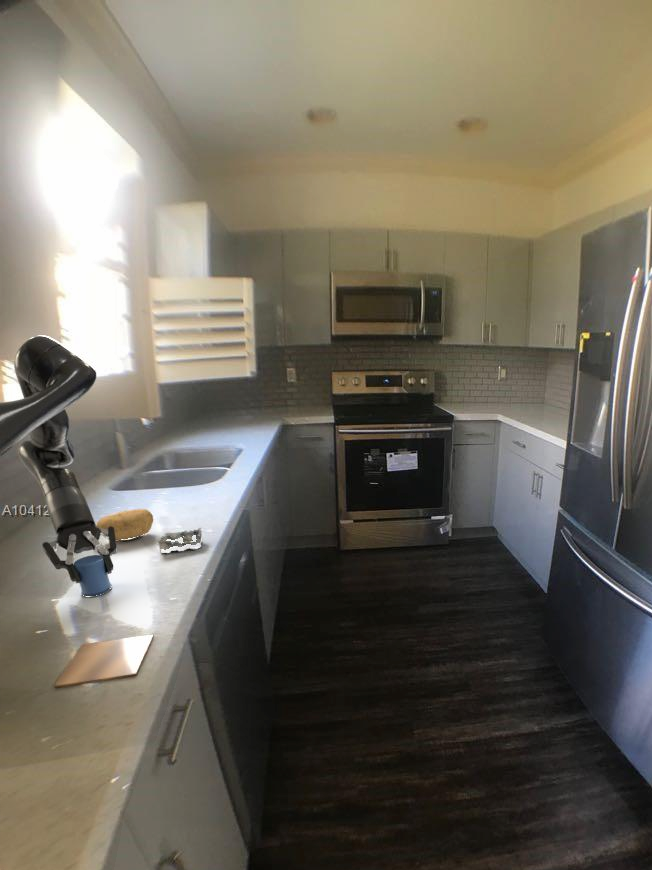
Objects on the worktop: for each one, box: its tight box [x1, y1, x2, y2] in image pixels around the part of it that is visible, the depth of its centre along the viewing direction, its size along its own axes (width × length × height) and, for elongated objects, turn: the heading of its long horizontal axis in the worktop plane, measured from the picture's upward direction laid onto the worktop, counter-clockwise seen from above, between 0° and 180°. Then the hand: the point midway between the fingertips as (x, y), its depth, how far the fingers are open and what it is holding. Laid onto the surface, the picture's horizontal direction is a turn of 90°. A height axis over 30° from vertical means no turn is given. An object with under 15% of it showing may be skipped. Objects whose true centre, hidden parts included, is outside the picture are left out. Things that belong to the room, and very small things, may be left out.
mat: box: [54, 634, 155, 689], centre depth 78 cm, size 12×11×1 cm
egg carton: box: [157, 527, 203, 550], centre depth 121 cm, size 11×8×4 cm
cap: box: [73, 554, 113, 596], centre depth 100 cm, size 6×6×8 cm
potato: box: [96, 508, 154, 540], centre depth 127 cm, size 10×14×8 cm
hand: (94, 576), depth 99 cm, fingers closed on cap, 5 cm apart
